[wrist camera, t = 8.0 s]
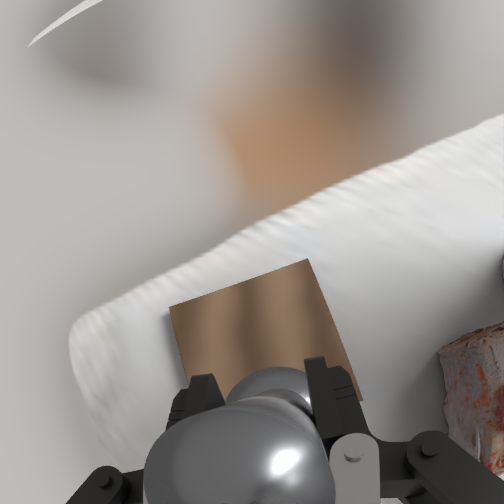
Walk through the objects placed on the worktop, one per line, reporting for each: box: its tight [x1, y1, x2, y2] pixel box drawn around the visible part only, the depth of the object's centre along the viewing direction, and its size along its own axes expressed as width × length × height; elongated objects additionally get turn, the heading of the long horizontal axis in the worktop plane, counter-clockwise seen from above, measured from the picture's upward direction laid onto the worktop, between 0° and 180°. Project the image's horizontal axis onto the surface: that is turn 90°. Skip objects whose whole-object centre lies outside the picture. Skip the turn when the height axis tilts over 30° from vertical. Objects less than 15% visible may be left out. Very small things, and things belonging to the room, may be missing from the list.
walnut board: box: [169, 259, 363, 402], centre depth 26 cm, size 14×14×2 cm
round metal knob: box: [143, 367, 336, 504], centre depth 9 cm, size 6×6×11 cm
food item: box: [437, 322, 504, 476], centre depth 17 cm, size 14×8×10 cm, turn 11°
